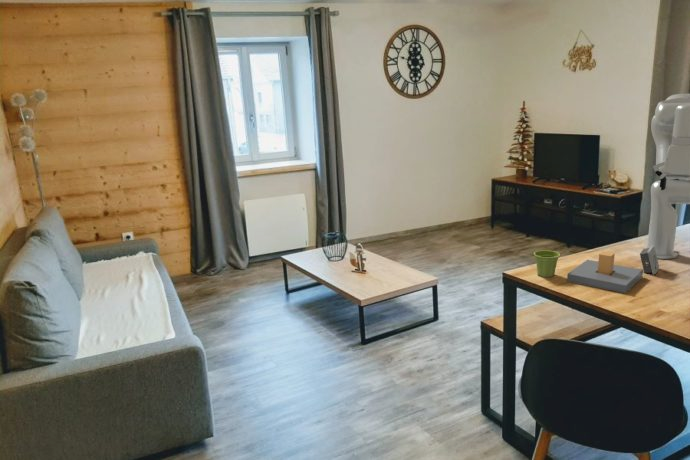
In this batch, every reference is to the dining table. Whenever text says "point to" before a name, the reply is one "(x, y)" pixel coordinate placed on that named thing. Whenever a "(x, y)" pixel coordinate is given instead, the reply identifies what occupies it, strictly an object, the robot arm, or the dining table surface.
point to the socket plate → (605, 277)
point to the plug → (606, 263)
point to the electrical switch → (649, 260)
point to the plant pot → (546, 262)
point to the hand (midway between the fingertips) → (678, 190)
